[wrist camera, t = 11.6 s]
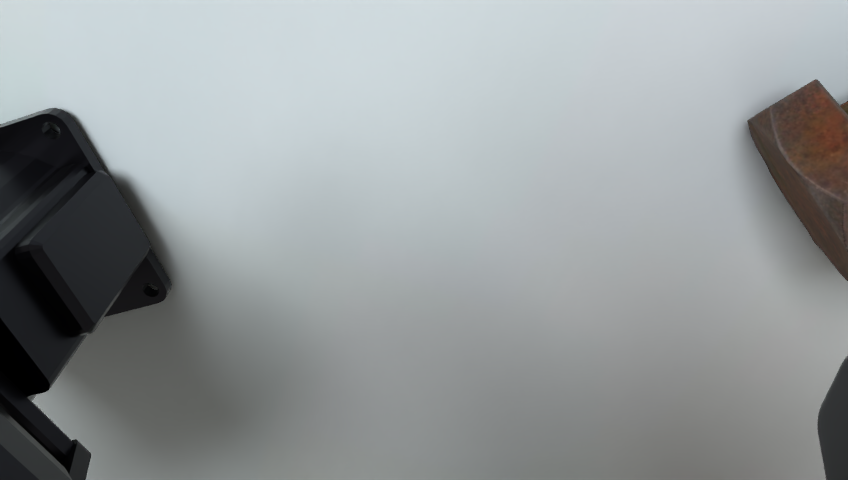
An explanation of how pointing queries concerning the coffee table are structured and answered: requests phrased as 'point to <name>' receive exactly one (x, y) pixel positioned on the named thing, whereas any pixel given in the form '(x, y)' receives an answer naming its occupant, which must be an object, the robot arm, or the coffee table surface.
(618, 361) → the coffee table surface
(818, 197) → the bolt
